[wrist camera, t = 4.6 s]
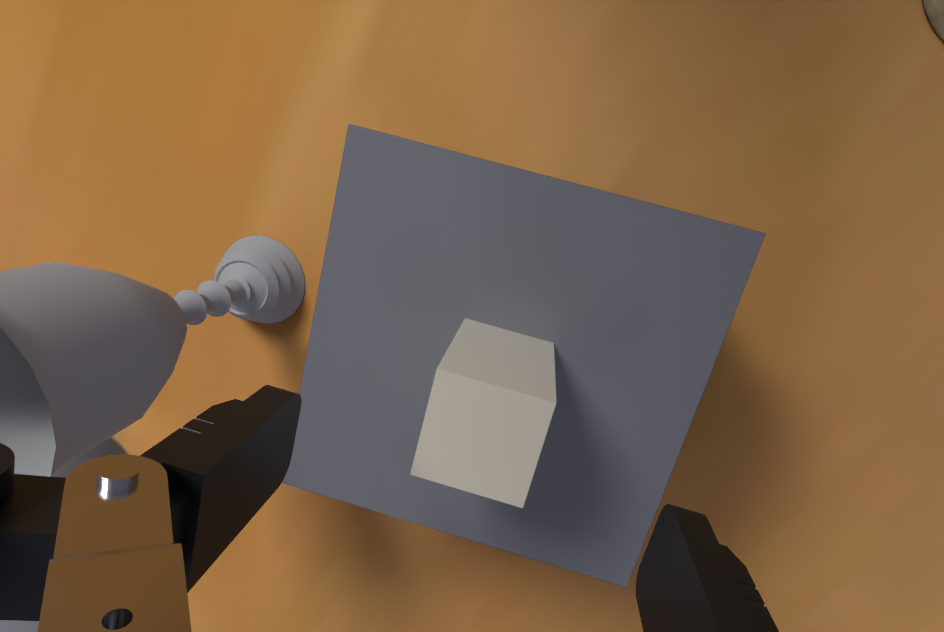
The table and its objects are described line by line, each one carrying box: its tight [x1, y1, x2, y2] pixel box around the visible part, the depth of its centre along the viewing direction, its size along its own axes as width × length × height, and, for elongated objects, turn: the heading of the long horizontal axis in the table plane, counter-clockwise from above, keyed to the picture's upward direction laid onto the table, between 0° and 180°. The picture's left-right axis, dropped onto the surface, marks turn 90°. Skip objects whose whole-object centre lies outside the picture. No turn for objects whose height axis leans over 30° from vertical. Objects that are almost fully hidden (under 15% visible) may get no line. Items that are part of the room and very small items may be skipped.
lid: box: [283, 124, 765, 587], centre depth 18 cm, size 13×13×7 cm
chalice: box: [0, 235, 305, 477], centre depth 23 cm, size 7×7×18 cm
